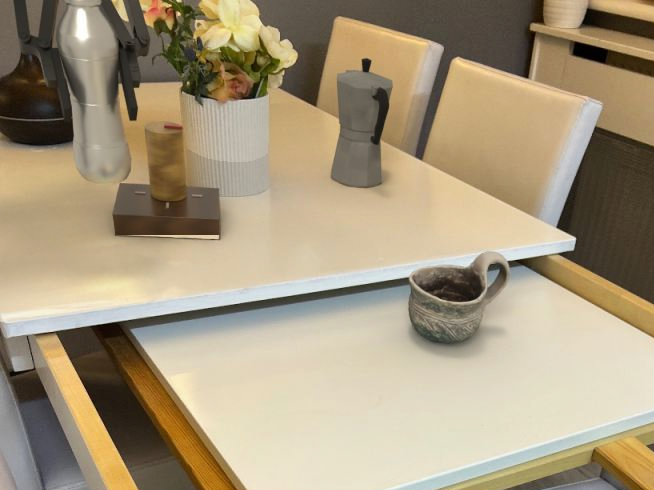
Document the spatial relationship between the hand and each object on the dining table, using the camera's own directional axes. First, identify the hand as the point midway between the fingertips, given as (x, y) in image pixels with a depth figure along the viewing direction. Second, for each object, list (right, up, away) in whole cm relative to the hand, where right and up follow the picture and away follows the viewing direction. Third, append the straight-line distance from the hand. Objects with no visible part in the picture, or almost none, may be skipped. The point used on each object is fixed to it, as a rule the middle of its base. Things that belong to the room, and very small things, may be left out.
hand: (101, 114), depth 85 cm
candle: (0, +2, +26) cm, 26 cm away
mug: (+39, -21, +12) cm, 46 cm away
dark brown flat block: (0, -2, +26) cm, 26 cm away
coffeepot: (+27, +12, +46) cm, 55 cm away
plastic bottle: (-2, -4, +8) cm, 9 cm away
